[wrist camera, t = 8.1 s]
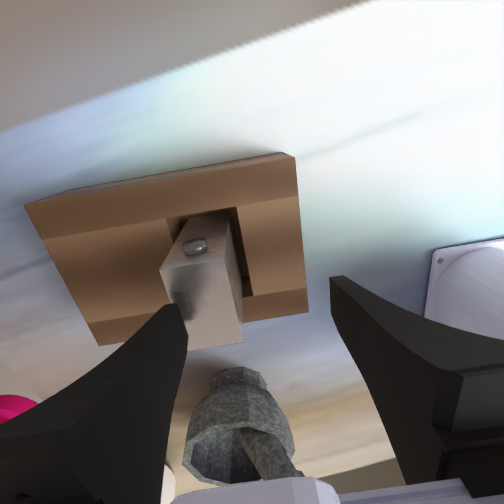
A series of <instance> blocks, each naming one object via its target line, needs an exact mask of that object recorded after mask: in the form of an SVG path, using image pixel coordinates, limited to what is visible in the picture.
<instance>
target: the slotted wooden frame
mask: <svg viewBox="0 0 504 504" xmlns="http://www.w3.org/2000/svg"><path fill="white" fill-rule="evenodd" d="M23 206H24V207H25V209H26V211H27V213H28V215H29V217H30V219H31V220H32V222H33V224H34V226H35V228H36V230H37V232H38V233H39V235H40V237H41V239H42V241H43V243H44V245H45V246H46V248H47V250H48V252H49V254H50V256H51V258H52V259H53V261H54V263H55V265H56V267H57V269H58V271H59V272H60V274H61V276H62V278H63V280H64V282H65V284H66V285H67V287H68V289H69V291H70V293H71V295H72V297H73V298H74V300H75V302H76V304H77V306H78V308H79V310H80V311H81V313H82V315H83V317H84V319H85V321H86V323H87V324H88V326H89V328H90V330H91V332H92V334H93V336H94V337H95V339H96V341H97V343H98V345H99V346H103V345H109V344H115V343H121V342H126V341H127V340H128V339H129V338H130V337H131V336H133V335H134V334H135V333H136V332H137V331H138V330H139V329H140V328H141V327H142V326H143V325H144V324H145V323H146V322H147V321H148V320H149V319H150V318H151V317H152V316H153V315H154V314H155V313H156V312H157V311H158V310H159V309H160V308H161V307H162V306H163V305H165V304H171V302H170V300H169V297H168V294H167V291H166V288H165V285H164V283H163V280H162V277H161V274H160V271H159V269H160V268H161V266H162V264H163V262H164V261H165V259H166V257H167V255H168V254H169V252H170V250H171V248H172V247H173V245H174V243H175V241H176V240H177V238H178V236H179V234H180V233H181V231H182V229H183V227H184V226H185V224H186V222H187V220H188V219H189V218H191V217H197V216H203V215H208V214H214V213H220V212H226V211H229V212H230V217H231V222H232V226H233V231H234V236H235V241H236V246H237V251H238V256H239V261H240V266H241V271H242V310H243V323H245V322H251V321H257V320H263V319H270V318H276V317H282V316H288V315H294V314H300V313H307V312H309V311H308V300H307V289H306V277H305V266H304V255H303V243H302V232H301V221H300V209H299V198H298V187H297V175H296V164H295V157H293V156H290V155H288V154H286V153H284V152H280V153H275V154H269V155H263V156H258V157H252V158H246V159H241V160H235V161H229V162H224V163H218V164H212V165H207V166H201V167H195V168H190V169H184V170H178V171H173V172H167V173H161V174H156V175H150V176H144V177H139V178H133V179H127V180H122V181H116V182H110V183H105V184H99V185H93V186H88V187H82V188H76V189H71V190H67V191H64V192H61V193H58V194H55V195H52V196H49V197H46V198H43V199H40V200H37V201H35V202H32V203H29V204H26V205H23Z"/></svg>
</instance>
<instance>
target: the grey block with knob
mask: <svg viewBox="0 0 504 504" xmlns="http://www.w3.org/2000/svg"><path fill="white" fill-rule="evenodd" d="M159 271H160V274H161V277H162V280H163V283H164V285H165V288H166V291H167V294H168V297H169V300H170V302H171V303H178V306H179V309H180V312H181V315H182V318H183V321H184V324H185V327H186V330H187V332H188V335H189V338H188V347H187V350H188V351H193V350H200V349H206V348H212V347H218V346H225V345H231V344H237V343H243V310H242V271H241V266H240V261H239V256H238V251H237V246H236V241H235V236H234V231H233V226H232V222H231V217H230V212H229V211H226V212H220V213H214V214H208V215H203V216H197V217H191V218H189V219H188V220H187V222H186V224H185V226H184V227H183V229H182V231H181V233H180V234H179V236H178V238H177V240H176V241H175V243H174V245H173V247H172V248H171V250H170V252H169V254H168V255H167V257H166V259H165V261H164V262H163V264H162V266H161V268H160V269H159Z"/></svg>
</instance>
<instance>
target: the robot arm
mask: <svg viewBox="0 0 504 504" xmlns="http://www.w3.org/2000/svg"><path fill="white" fill-rule="evenodd" d="M439 259H440V260H439ZM438 260H439V261H438ZM329 282H330V302H331V314H332V317H333V319H334V322H335V325H336V327H337V330H338V332H339V334H340V336H341V338H342V339H343V341H344V343H345V345H346V347H347V349H348V350H349V352H350V354H351V356H352V358H353V360H354V361H355V363H356V365H357V367H358V369H359V370H360V372H361V374H362V376H363V378H364V380H365V382H366V384H367V387H368V389H369V391H370V394H371V396H372V398H373V401H374V403H375V405H376V408H377V410H378V413H379V415H380V418H381V420H382V422H383V425H384V427H385V430H386V432H387V435H388V437H389V440H390V443H391V445H392V448H393V450H394V453H395V455H396V458H397V461H398V463H399V466H400V469H401V471H402V474H403V477H404V480H405V482H406V486H398V487H391V488H385V489H377V490H370V491H363V492H355V493H348V494H342V495H337V494H336V492H335V490H334V489H333V487H332V486H331V485H329V484H328V483H326V482H324V481H321V480H318V479H316V478H313V477H287V478H280V479H273V480H266V481H259V482H252V483H245V484H238V485H231V486H224V487H217V488H210V489H203V490H196V491H193V492H189V493H186V494H183V495H180V496H177V497H176V498H175V499H174V500H173V501H172V502H171V503H170V504H504V238H503V239H497V240H491V241H485V242H479V243H473V244H467V245H461V246H454V247H448V248H442V249H438V250H436V251H435V252H434V253H433V257H432V264H431V271H430V278H429V285H428V292H427V299H426V306H425V313H424V317H422V316H419V315H417V314H415V313H412V312H410V311H407V310H405V309H403V308H401V307H398V306H396V305H394V304H392V303H390V302H388V301H386V300H384V299H382V298H381V297H379V296H377V295H375V294H373V293H372V292H370V291H368V290H366V289H365V288H363V287H361V286H360V285H358V284H356V283H355V282H353V281H352V280H350V279H348V278H347V277H345V276H343V275H341V276H334V277H329ZM188 338H189V335H188V332H187V330H186V327H185V324H184V321H183V318H182V315H181V312H180V309H179V306H178V303H171V304H165V305H163V306H162V307H161V308H160V309H159V310H158V311H157V312H156V313H155V314H154V315H153V316H152V317H151V318H150V319H149V320H148V321H147V322H146V323H145V324H144V325H143V326H142V327H141V328H140V329H139V330H138V331H137V332H136V333H135V334H134V335H133V336H131V337H130V338H129V339H128V340H127V341H126V342H125V343H124V344H123V345H122V346H121V347H119V348H118V349H117V350H116V351H115V352H114V353H112V354H111V355H110V356H109V357H108V358H106V359H105V360H104V361H103V362H101V363H100V364H99V365H97V366H96V367H95V368H93V369H92V370H91V371H89V372H88V373H86V374H85V375H83V376H82V377H80V378H79V379H78V380H76V381H75V382H73V383H72V384H70V385H69V386H67V387H66V388H64V389H63V390H61V391H59V392H58V393H56V394H55V395H53V396H51V397H50V398H48V399H46V400H44V401H43V402H41V403H39V404H38V405H36V406H34V407H32V408H31V409H29V410H27V411H25V412H23V413H21V414H19V415H17V416H15V417H14V418H12V419H10V420H8V421H6V422H4V423H2V424H0V504H161V494H162V485H163V476H164V467H165V458H166V451H167V443H168V436H169V430H170V423H171V417H172V411H173V407H174V402H175V398H176V394H177V390H178V387H179V383H180V379H181V375H182V371H183V367H184V363H185V359H186V355H187V347H188Z"/></svg>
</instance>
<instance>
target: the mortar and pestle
mask: <svg viewBox="0 0 504 504" xmlns="http://www.w3.org/2000/svg"><path fill="white" fill-rule="evenodd" d="M294 452H295V448H294V442H293V437H292V433H291V430H290V427H289V424H288V421H287V418H286V416H285V415H284V413H283V412H282V410H281V409H280V407H279V406H278V404H277V402H276V401H275V400H274V398H273V397H272V396H271V394H270V393H269V392H268V391H267V384H266V382H265V381H264V379H263V378H262V376H261V375H260V373H259V372H256V371H253V370H251V369H248V368H245V367H239V368H231V369H225V370H224V371H222V372H221V373H220V374H218V375H217V376H215V377H214V378H213V379H212V384H211V389H210V394H209V395H207V396H206V397H204V398H203V399H202V400H201V401H200V403H199V404H198V405H197V407H196V408H195V409H194V410H193V413H192V416H191V419H190V422H189V426H188V430H187V436H186V442H185V448H184V455H183V461H182V465H183V466H184V467H185V468H186V469H187V470H188V471H189V472H190V473H191V474H192V475H194V476H195V477H196V478H197V479H198V480H199V481H201V482H205V483H209V484H213V485H218V486H222V487H224V486H231V485H238V484H245V483H252V482H259V481H266V480H273V479H280V478H287V477H305V476H304V474H303V473H302V471H298V470H296V469H295V467H294V465H293V464H292V462H291V458H292V456H293V454H294Z"/></svg>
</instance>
